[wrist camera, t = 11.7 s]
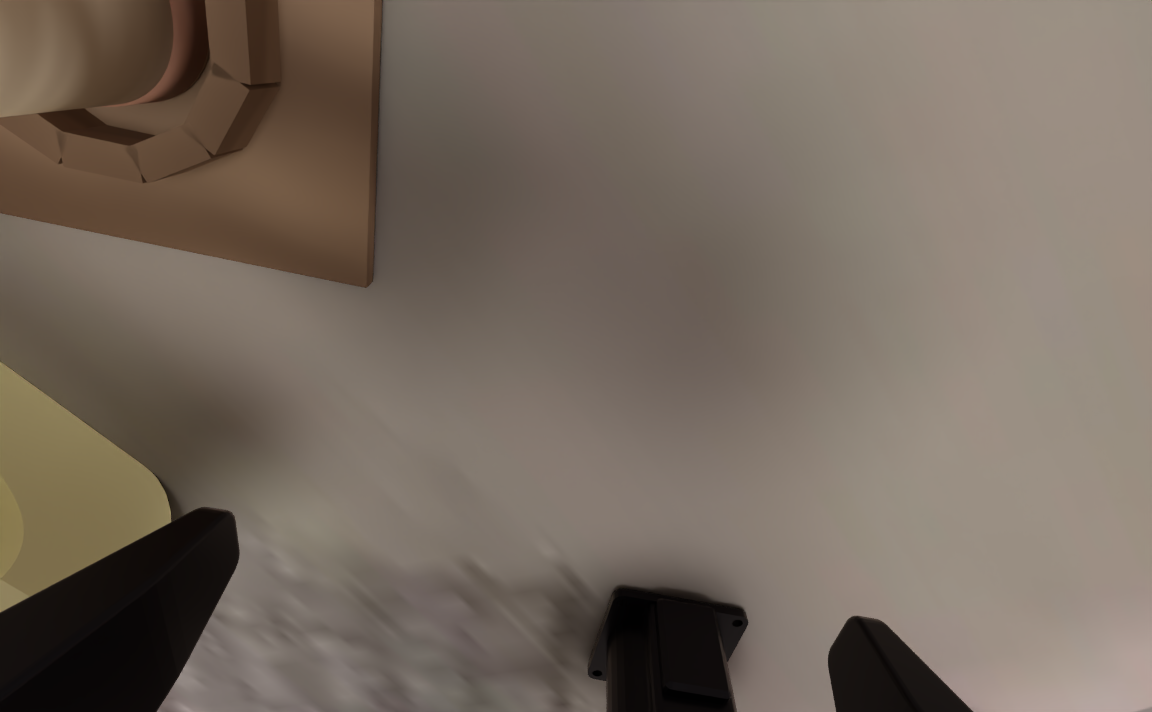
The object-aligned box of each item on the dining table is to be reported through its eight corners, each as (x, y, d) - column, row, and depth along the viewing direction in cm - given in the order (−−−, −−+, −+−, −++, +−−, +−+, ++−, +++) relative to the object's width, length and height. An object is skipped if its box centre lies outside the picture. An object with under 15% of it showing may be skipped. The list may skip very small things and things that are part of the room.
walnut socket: (372, 281, 20) (347, 306, 18) (-46, 195, 19) (-120, 212, 17) (391, -275, 13) (354, -330, 11) (-252, -443, 12) (-410, -535, 10)
